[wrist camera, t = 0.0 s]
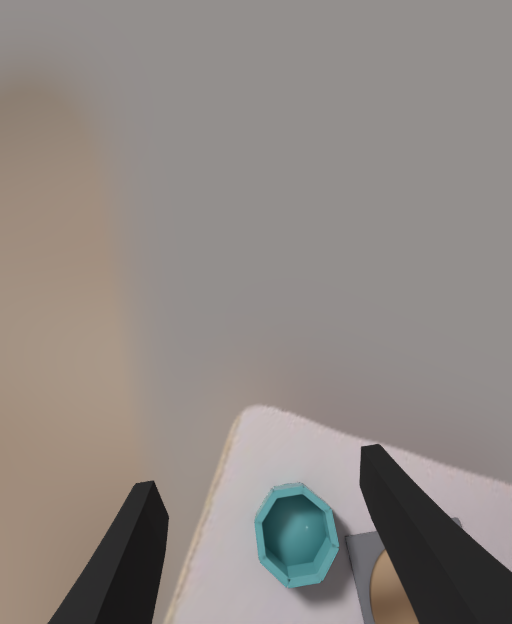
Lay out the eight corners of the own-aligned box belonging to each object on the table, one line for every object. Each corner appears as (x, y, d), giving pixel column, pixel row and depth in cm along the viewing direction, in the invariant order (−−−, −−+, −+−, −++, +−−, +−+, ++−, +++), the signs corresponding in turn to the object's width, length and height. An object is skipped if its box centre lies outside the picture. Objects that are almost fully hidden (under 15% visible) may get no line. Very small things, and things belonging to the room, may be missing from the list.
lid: (502, 668, 30) (544, 709, 26) (389, 689, 30) (411, 734, 25) (453, 529, 35) (481, 542, 30) (356, 546, 35) (369, 562, 30)
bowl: (337, 563, 35) (346, 578, 31) (263, 576, 34) (262, 592, 31) (320, 478, 38) (325, 482, 35) (252, 489, 38) (251, 494, 34)
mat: (513, 677, 30) (516, 680, 30) (381, 702, 30) (383, 705, 29) (456, 517, 36) (458, 518, 35) (345, 536, 35) (345, 537, 35)
